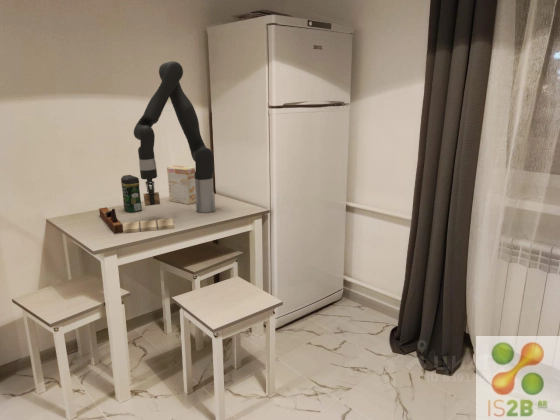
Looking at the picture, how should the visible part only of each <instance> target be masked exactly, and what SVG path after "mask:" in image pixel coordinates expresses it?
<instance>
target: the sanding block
mask: <svg viewBox="0 0 560 420" xmlns="http://www.w3.org/2000/svg"><path fill="white" fill-rule="evenodd" d="M150 194H153V193H150ZM154 194H155V196H154V200H155V204H154V205H153V206H157V205H161V202H160V200H161V199H160V193H159V192H158V191H156V192H155V191H154ZM143 201H144V206H145V207H147V206H151V205H150V199H149V193H148V192H147V193H143Z"/></svg>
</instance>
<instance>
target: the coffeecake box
mask: <svg viewBox="0 0 560 420" xmlns="http://www.w3.org/2000/svg"><path fill="white" fill-rule="evenodd" d="M166 169H167V171H166V172H167V173H166V174H167V183H168V194H169V195H168V197H169V198H168V199H169V202H174V203H179V204H185V205H190V204H194V203H195V204H196V194H195V177H194V174H195V171H196V167H190V166H184V165H183V166H181V165H171V166H166Z"/></svg>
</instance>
